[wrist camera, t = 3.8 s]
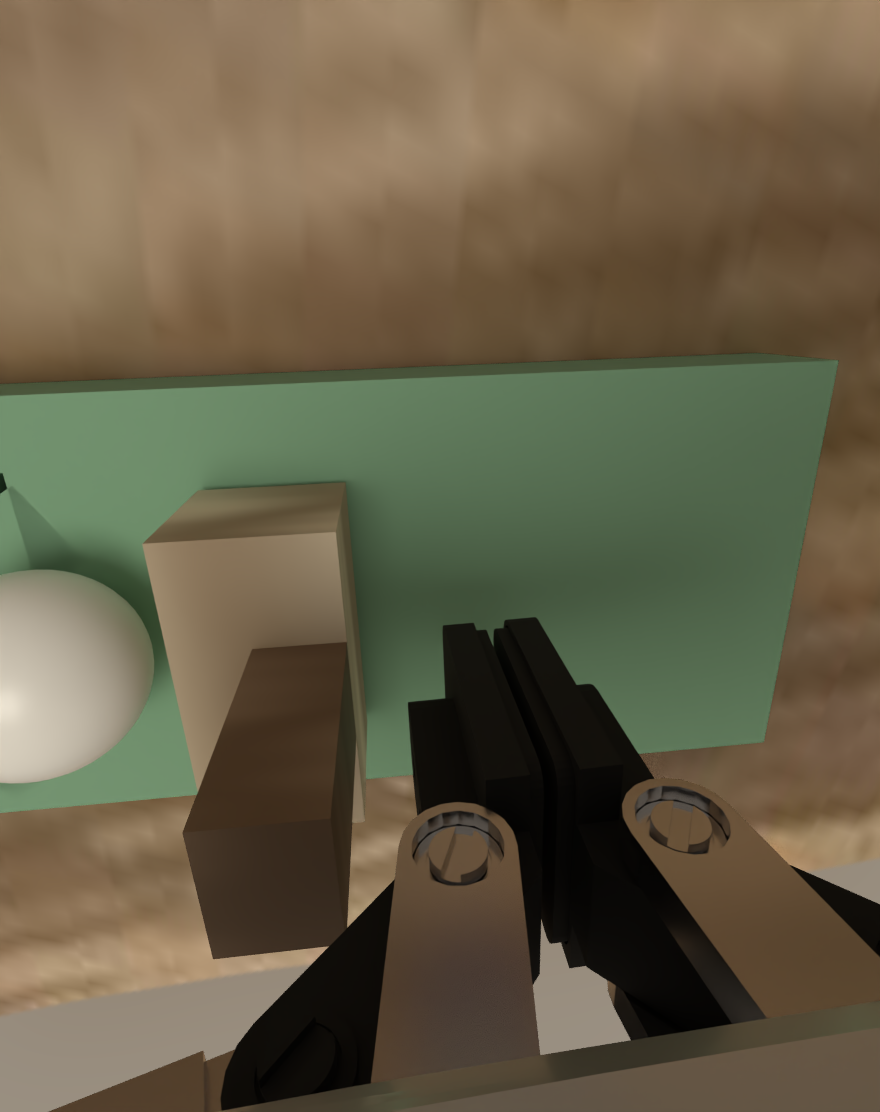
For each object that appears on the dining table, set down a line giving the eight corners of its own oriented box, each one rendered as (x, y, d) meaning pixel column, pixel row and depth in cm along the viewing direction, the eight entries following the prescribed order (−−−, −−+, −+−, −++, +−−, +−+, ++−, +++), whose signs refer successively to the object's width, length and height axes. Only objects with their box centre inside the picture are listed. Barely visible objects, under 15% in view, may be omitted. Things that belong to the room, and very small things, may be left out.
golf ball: (-187, 653, 9) (-86, 559, 12) (-89, 864, 10) (-23, 727, 14) (124, 599, 10) (136, 529, 13) (171, 792, 12) (171, 684, 15)
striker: (345, 482, 13) (310, 661, 6) (367, 721, 15) (359, 1047, 8) (197, 490, 13) (-7, 686, 6) (242, 732, 15) (129, 1076, 8)
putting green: (758, 352, 16) (838, 360, 13) (709, 681, 20) (763, 742, 17) (-432, 401, 14) (-637, 422, 11) (-238, 761, 17) (-355, 845, 15)
